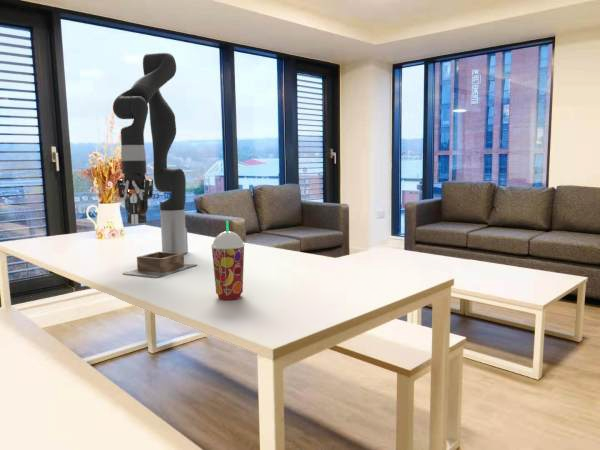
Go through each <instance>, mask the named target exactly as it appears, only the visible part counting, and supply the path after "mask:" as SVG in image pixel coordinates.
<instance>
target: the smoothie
mask: <svg viewBox="0 0 600 450" xmlns="http://www.w3.org/2000/svg"><path fill="white" fill-rule="evenodd" d="M229 224H230V223H229V220H225V228H226V229H225V231H222V232H220V233H219V234H218V235H217V236H215V238H214V240H213V243H212V244H211V246H210V247H211V253H212V264H213V272H214V273H213V274H214V275H213V276H214V284H215V293H216V294H217V297H218V298H219V300H223V301H233V300H237V299H240V298H241V297H242V293H243V290H244V262H245V243H244V242H243V240H242V238H241V237H240V235H239V234H238V233H236V232H234V231H231V230H230V228H229Z"/></svg>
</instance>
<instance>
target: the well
mask: <svg viewBox="0 0 600 450" xmlns="http://www.w3.org/2000/svg"><path fill="white" fill-rule="evenodd" d="M184 255H185V254H183V253H170V252H162V251H156V252H155V251H154V252H152V253H148V254H144V255H138V256H136V265H137V266H136V267H137V269H136V268H135V269H133V270H129V271H125V272H122V275H126V276H133V277H134V276H135V277H143V278H144V277H145V278H151V279H152V278H155V279H157V278H162V277H165V276H168V275H172V274H174V273H178V272H181V271H186V270H188V269H190V268H194V267H197V266H198V264H196V263H194V264H193V263H185V259H184V257H185V256H184Z"/></svg>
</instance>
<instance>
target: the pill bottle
mask: <svg viewBox="0 0 600 450" xmlns="http://www.w3.org/2000/svg"><path fill="white" fill-rule="evenodd" d="M129 194H130V195H129ZM129 194H128V195H129V196H128V197H127V198H126V202H127V211H126V214H127V215H126V217H127V219H126V220H127V224H128V225H145V224H147V211H145V212H141V206H140V200H141V199H140V197H139V194H137V192H136V190H133V189H132V190H129Z"/></svg>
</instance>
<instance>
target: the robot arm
mask: <svg viewBox="0 0 600 450" xmlns="http://www.w3.org/2000/svg"><path fill="white" fill-rule="evenodd" d="M142 69H143V76H141V77H140V78H139V79H137V80H136V81H135V82H134V84H133V85H132V86H131V88H129V89H128V90H126V91H124V92H122V93H121V94H119V95H117V97H116V98H115V99H114V101H113V104H112V111H113V114H114V115H115V116H116V118H118V119H119V120H132V123H131V124H130V125H127V126H123V127H122V128H121V129H120V142H121V143H120V144H121V146H120V158H121V173H122V175H124V176H123V179H117V181H116V183H117V190H118V196H119V198H120V199H121V198H122V199H123V200H124V205H125V206H124V207H125V211H126V212H127V202H126V198H127V197H128V196H129V195H130V194H129V190H132V189H133V190H136V192H137V194H139V197H140V199H141V200H140V206H141V212H145V211H146V212H148V209H149V206H148V205H149V204H148V200H149V199H151V198H153V194H154V186H155V189H156V190H157V191H158V192H161V193H170V197H169V198H168V199H167V200H163V201H162V202H160V203H159V214H160V233H161V252H170V253H183V254H184V255H185V254H187V253H188V252H189V247H188V241H189V240H188V228H187V227H186V211H185V210H186V209H185V205H186V200H187V199H186V194H187V193H186V191H187V190H186V184H187V183H186V175H185V172H184V171H183V169H182V168H180V167H179V168H178V167H168V155H169V152H170V149H171V147H172V145H173V142H174V140H175V139H176V135H177V123H176V122H177V121H176V115H175V113H174V111H173V109H172V108H171V106H170V104H168V102H167V101H166V99H165V98H164V97H163V95H162V93H161V91H160V89H161V88H162V87H163V86H164V85H165V84H167V83H168V82H169V81H170V80H172V78H173V77H174V76H175V75H176V72H177V63H176V60H175V57H174V55H173V54H171V53H169V52H154V53H145V54H144V55H143V59H142ZM148 114H149V124H150V133H151V139H152V140H151V141H152V154H153V157H152V158H153V179H152V178H151V179H147V178H146V174H147V157H146V149H145V127H146V121H147V117H148Z"/></svg>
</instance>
